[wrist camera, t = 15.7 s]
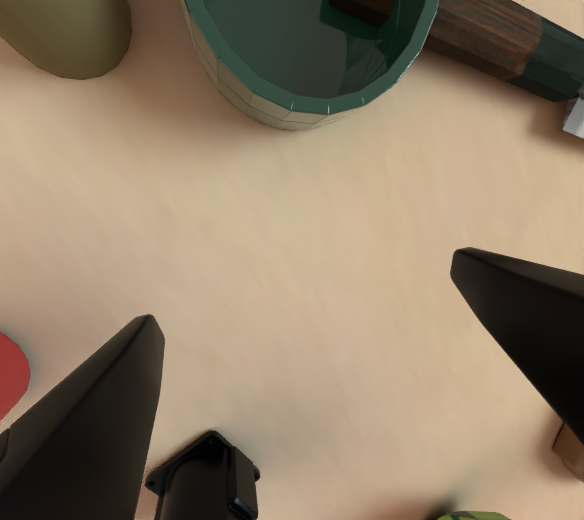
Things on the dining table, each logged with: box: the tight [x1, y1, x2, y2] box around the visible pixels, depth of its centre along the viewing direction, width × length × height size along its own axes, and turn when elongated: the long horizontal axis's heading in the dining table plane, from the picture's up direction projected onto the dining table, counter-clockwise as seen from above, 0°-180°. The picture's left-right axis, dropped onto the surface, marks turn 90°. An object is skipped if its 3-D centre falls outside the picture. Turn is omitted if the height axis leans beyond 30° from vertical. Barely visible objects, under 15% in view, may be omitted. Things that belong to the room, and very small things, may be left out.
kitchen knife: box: [329, 0, 584, 139], centre depth 20 cm, size 36×2×5 cm
